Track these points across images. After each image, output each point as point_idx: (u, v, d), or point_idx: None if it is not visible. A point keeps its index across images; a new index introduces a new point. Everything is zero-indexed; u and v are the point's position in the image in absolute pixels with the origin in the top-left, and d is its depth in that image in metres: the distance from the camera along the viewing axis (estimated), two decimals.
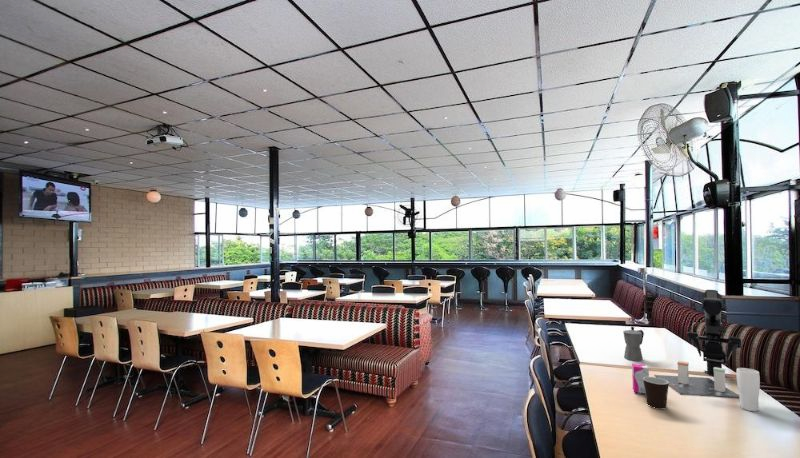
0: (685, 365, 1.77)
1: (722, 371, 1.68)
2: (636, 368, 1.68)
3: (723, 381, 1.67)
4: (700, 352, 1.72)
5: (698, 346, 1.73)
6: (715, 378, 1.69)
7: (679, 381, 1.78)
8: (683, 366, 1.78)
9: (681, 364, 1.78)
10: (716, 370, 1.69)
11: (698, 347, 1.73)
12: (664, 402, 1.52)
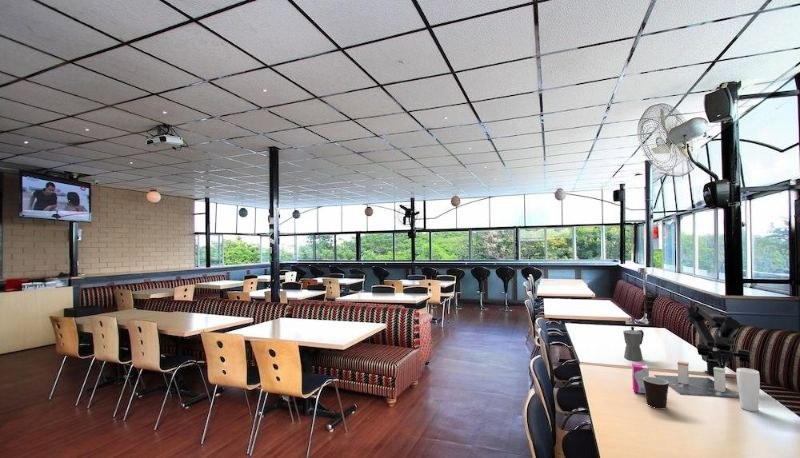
0: (685, 365, 1.77)
1: (722, 371, 1.68)
2: (636, 368, 1.68)
3: (723, 381, 1.67)
4: (721, 365, 1.74)
5: (719, 359, 1.76)
6: (715, 378, 1.69)
7: (679, 381, 1.78)
8: (683, 366, 1.78)
9: (681, 364, 1.78)
10: (716, 370, 1.69)
11: (719, 360, 1.75)
12: (664, 402, 1.52)
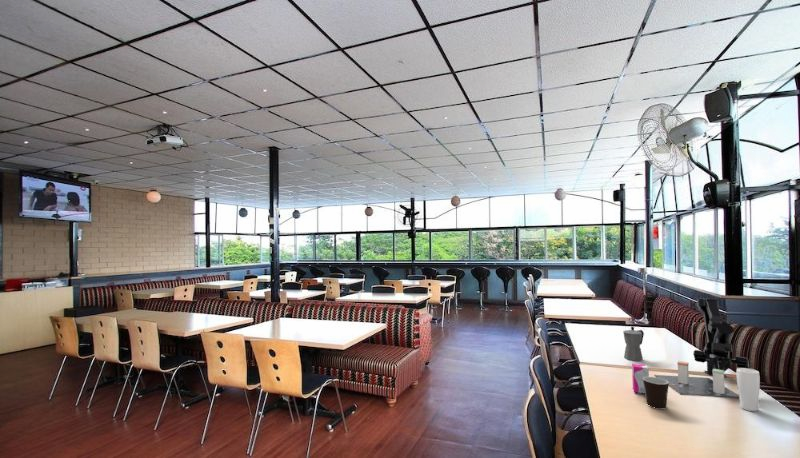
0: (685, 365, 1.77)
1: (721, 373, 1.65)
2: (636, 368, 1.68)
3: (722, 383, 1.65)
4: None
5: (716, 366, 1.71)
6: (714, 380, 1.67)
7: (679, 381, 1.78)
8: (683, 366, 1.78)
9: (681, 364, 1.78)
10: (715, 372, 1.67)
11: (716, 367, 1.70)
12: (664, 402, 1.52)
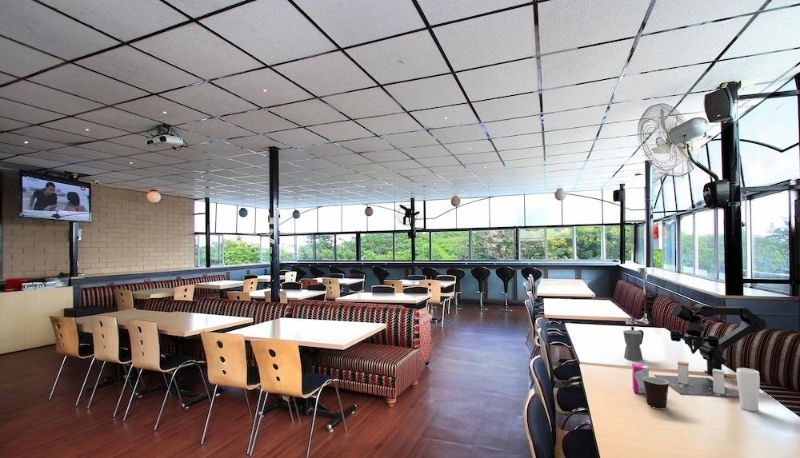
0: (685, 365, 1.77)
1: (721, 373, 1.65)
2: (636, 368, 1.68)
3: (722, 383, 1.65)
4: (692, 349, 1.84)
5: (691, 344, 1.86)
6: (714, 380, 1.67)
7: (679, 381, 1.78)
8: (683, 366, 1.78)
9: (681, 364, 1.78)
10: (715, 372, 1.67)
11: (691, 345, 1.86)
12: (664, 402, 1.52)
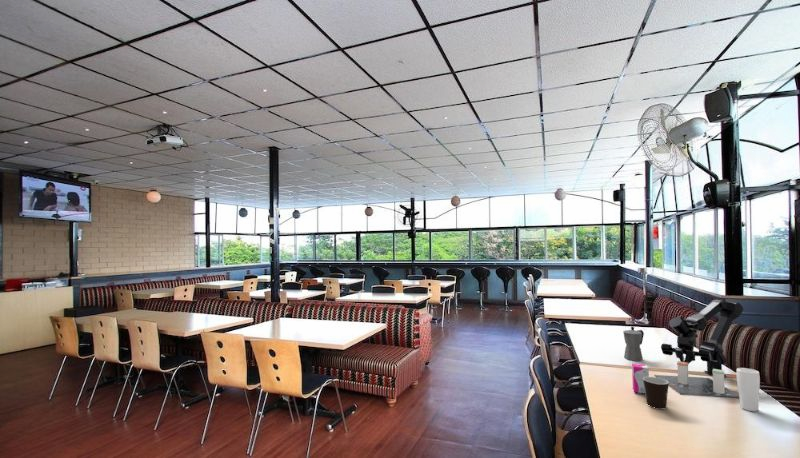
0: (685, 365, 1.77)
1: (721, 373, 1.65)
2: (636, 368, 1.68)
3: (722, 383, 1.65)
4: None
5: (681, 358, 1.82)
6: (714, 380, 1.67)
7: (679, 381, 1.78)
8: (683, 366, 1.77)
9: (681, 364, 1.78)
10: (715, 372, 1.67)
11: (681, 359, 1.82)
12: (664, 402, 1.52)
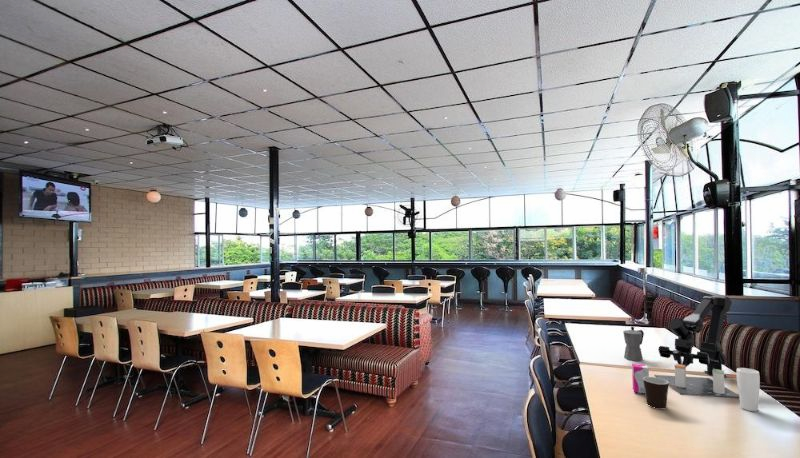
0: (682, 368, 1.73)
1: (721, 373, 1.65)
2: (636, 368, 1.68)
3: (722, 383, 1.65)
4: None
5: (679, 361, 1.78)
6: (714, 380, 1.67)
7: (676, 384, 1.74)
8: (680, 369, 1.73)
9: (678, 367, 1.74)
10: (715, 372, 1.67)
11: (679, 362, 1.78)
12: (664, 402, 1.52)
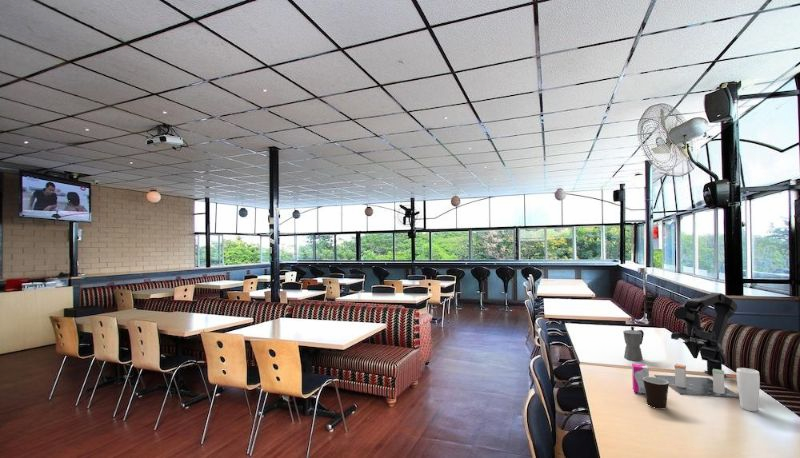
0: (682, 368, 1.73)
1: (721, 373, 1.65)
2: (636, 368, 1.68)
3: (722, 383, 1.65)
4: (695, 354, 1.81)
5: (695, 349, 1.81)
6: (714, 380, 1.67)
7: (676, 384, 1.74)
8: (680, 369, 1.73)
9: (678, 367, 1.74)
10: (715, 372, 1.67)
11: (695, 350, 1.81)
12: (664, 402, 1.52)
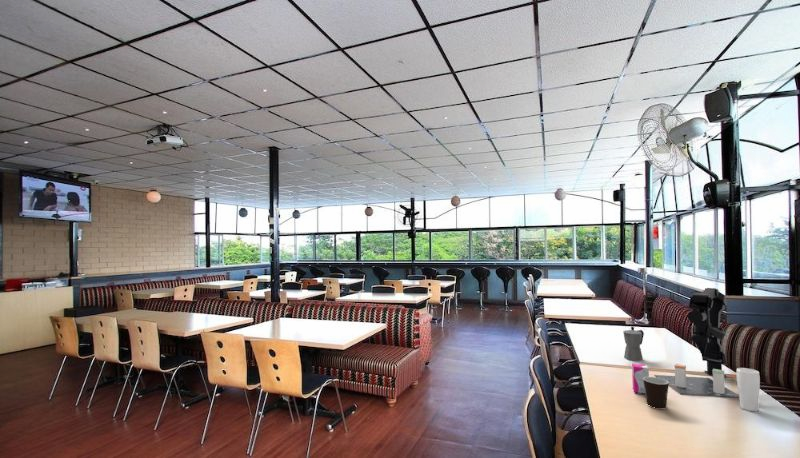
0: (682, 368, 1.73)
1: (721, 373, 1.65)
2: (636, 368, 1.68)
3: (722, 383, 1.65)
4: (704, 351, 1.81)
5: (705, 346, 1.80)
6: (714, 380, 1.67)
7: (676, 384, 1.74)
8: (680, 369, 1.73)
9: (678, 367, 1.74)
10: (715, 372, 1.67)
11: (705, 347, 1.80)
12: (664, 402, 1.52)
